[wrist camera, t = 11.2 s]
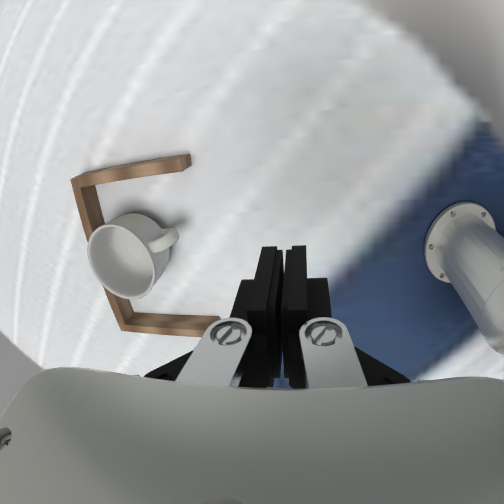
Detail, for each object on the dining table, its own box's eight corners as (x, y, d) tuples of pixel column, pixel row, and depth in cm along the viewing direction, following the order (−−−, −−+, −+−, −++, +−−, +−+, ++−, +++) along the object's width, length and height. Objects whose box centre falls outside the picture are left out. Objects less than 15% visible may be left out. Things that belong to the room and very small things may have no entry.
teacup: (129, 274, 48) (105, 302, 41) (103, 213, 43) (73, 235, 36) (206, 261, 44) (189, 293, 37) (182, 191, 40) (158, 212, 33)
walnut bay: (189, 154, 37) (180, 159, 34) (220, 323, 49) (215, 337, 46) (84, 172, 40) (70, 179, 37) (129, 318, 52) (121, 330, 49)
